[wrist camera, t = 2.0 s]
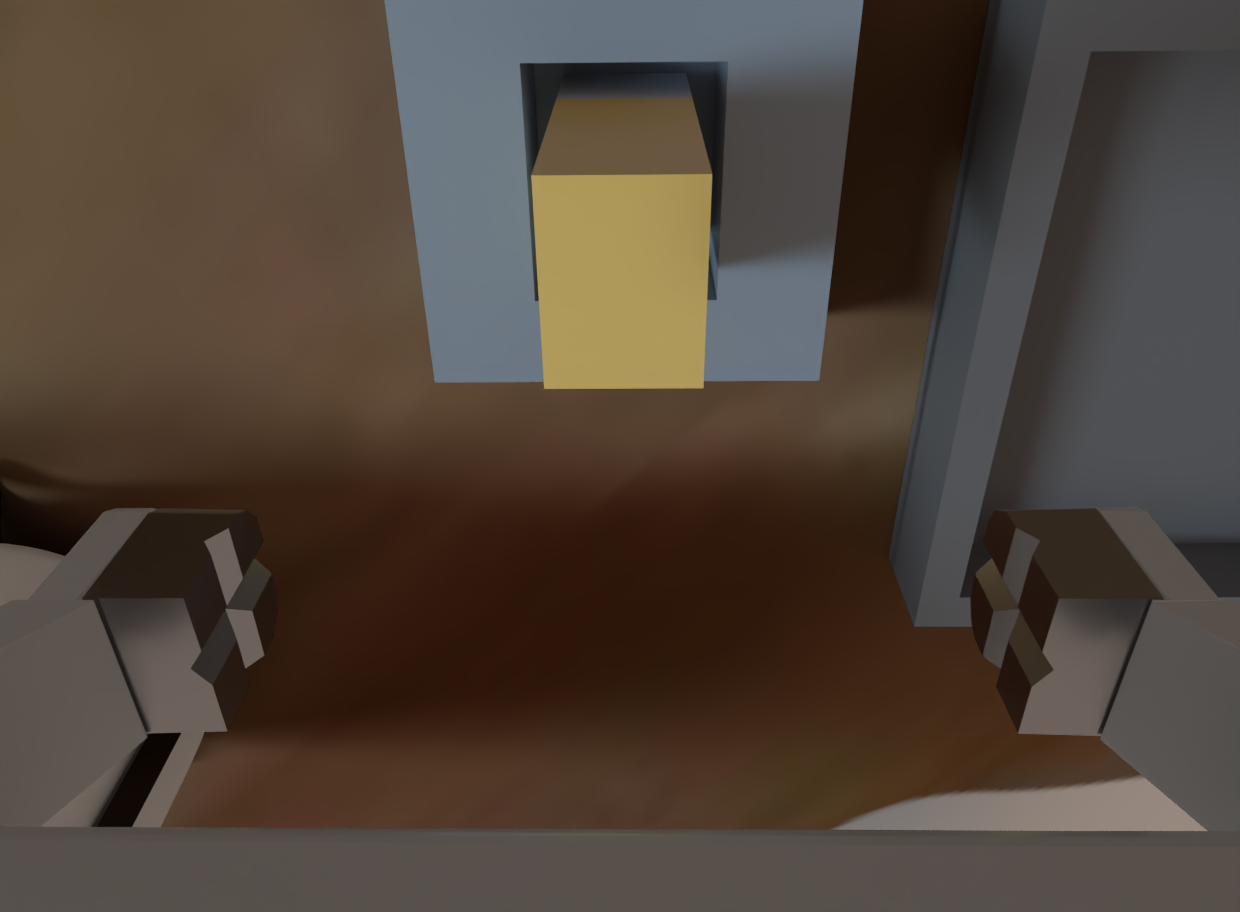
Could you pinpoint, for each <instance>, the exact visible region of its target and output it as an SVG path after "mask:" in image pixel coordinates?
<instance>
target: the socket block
mask: <svg viewBox="0 0 1240 912" xmlns="http://www.w3.org/2000/svg"><path fill="white" fill-rule="evenodd" d="M863 1H864V0H385V8H386V15H387V23H388V30H389V38H390V46H391V53H392V61H393V68H394V76H395V84H396V91H397V99H398V106H399V114H400V122H401V129H402V137H403V144H404V152H405V160H406V167H407V175H408V182H409V190H410V198H411V205H412V213H413V220H414V228H415V236H416V243H417V251H418V258H419V266H420V274H421V281H422V289H423V296H424V304H425V312H426V319H427V327H428V334H429V342H430V349H431V357H432V365H433V372H434V380H435V382H544V377H543V361H542V344H541V328H540V312H539V295H538V279H537V263H536V246H535V230H534V214H533V197H532V181H531V174H532V171H533V168H534V165H535V162H536V159H537V156H538V153H539V150H540V147H541V144H542V141H543V138H544V135H545V132H546V129H547V126H548V123H549V120H550V117H551V114H552V111H553V107H554V104H555V101H556V98H557V95H558V92H559V89H560V86H561V83H562V80H563V77H564V74H629V73H686V76H687V80H688V83H689V87H690V91H691V95H692V99H693V102H694V106H695V110H696V114H697V117H698V121H699V125H700V129H701V133H702V136H703V140H704V144H705V148H706V152H707V155H708V159H709V163H710V167H711V171H712V196H711V220H710V243H709V267H708V291H707V315H706V339H705V362H704V381H819V378H820V369H821V361H822V352H823V344H824V335H825V326H826V318H827V309H828V301H829V292H830V284H831V275H832V266H833V258H834V249H835V241H836V232H837V224H838V215H839V206H840V198H841V189H842V181H843V172H844V164H845V155H846V146H847V138H848V129H849V121H850V112H851V103H852V95H853V86H854V78H855V69H856V61H857V52H858V43H859V35H860V26H861V18H862V9H863Z"/></svg>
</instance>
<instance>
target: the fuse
mask: <svg viewBox="0 0 1240 912" xmlns="http://www.w3.org/2000/svg"><path fill="white" fill-rule="evenodd" d="M531 181H532V197H533V214H534V230H535V246H536V263H537V279H538V295H539V312H540V328H541V344H542V361H543V377H544V389H633V388H703V386H704V362H705V339H706V315H707V291H708V267H709V243H710V220H711V196H712V171H711V167H710V163H709V159H708V155H707V152H706V148H705V144H704V140H703V136H702V133H701V129H700V125H699V121H698V117H697V114H696V110H695V106H694V102H693V99H692V95H691V91H690V87H689V83H688V80H687V76H686V73H629V74H564V77H563V80H562V83H561V86H560V89H559V92H558V95H557V98H556V101H555V104H554V107H553V111H552V114H551V117H550V120H549V123H548V126H547V129H546V132H545V135H544V138H543V141H542V144H541V147H540V150H539V153H538V156H537V159H536V162H535V165H534V168H533V171H532V174H531Z"/></svg>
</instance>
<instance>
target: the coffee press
mask: <svg viewBox="0 0 1240 912" xmlns="http://www.w3.org/2000/svg"><path fill="white" fill-rule="evenodd" d="M0 518H1V491H0ZM64 557H65V556H63V555H60V554H57V553H53V552H50V551H46V550H42V549H37V548H32V547H27V546H21V545H13V544H4V543H3V541H2V537H1V528H0V606H2V605H4V604H6V603H8V602H10V601H12V600H28V599H29V598H30V597H31V595H32V594H33V593H34V592H35V591H36V590H37V589H38V587H39V586H40V585H41V584H42V583H43V582H44V580H45V579H46V578H47V577H48V576H49V575H50V573H51V572H52V571H53V570H54V569H55V568H56V566H57V565H58V564H59V563H60V562H61V561H62V560H63V558H64ZM146 734H147V738H146V739H145V740H144V741H143V742H141V743H140V744H139V745H138V746H137V747H135V748H134V749H133V750H132V751H131V752H129V753H128V754H127V755H126V756H125V757H124V758H122V759H121V760H120V761H119V762H118V763H116V764H115V765H114V766H113V767H112V768H110V769H109V770H108V771H107V772H106V773H104V774H103V775H102V776H101V777H100V778H98V779H97V780H96V781H95V782H94V783H92V784H91V785H90V786H89V787H88V788H86V789H85V790H84V791H83V792H82V793H80V794H79V795H78V796H77V797H76V798H74V799H73V800H72V801H71V802H70V803H68V804H67V805H66V806H65V807H64V808H62V809H61V810H60V811H59V812H58V813H56V814H55V815H54V816H53V817H52V818H50V819H49V820H48V821H47V822H46V823H44V824H43V825H42V826H41V827H161V825H162V823H163V821H164V819H165V817H166V815H167V813H168V811H169V809H170V806H171V804H172V802H173V800H174V798H175V796H176V794H177V792H178V790H179V788H180V786H181V784H182V782H183V780H184V777H185V775H186V773H187V771H188V769H189V767H190V765H191V763H192V761H193V758H194V756H195V754H196V752H197V750H198V747H199V745H200V743H201V740H202V737H203V735H204V732H185V733H146Z"/></svg>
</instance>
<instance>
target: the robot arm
mask: <svg viewBox="0 0 1240 912" xmlns="http://www.w3.org/2000/svg"><path fill="white" fill-rule="evenodd" d="M983 542H984V544H985V546H986V548H987V550H988V552H989V553H990V555H991V557H992V558H991V559H990V560H989V561H988V562H987V563H986V564H985V565H984V566H983V567H981V568H980V569H979V570H978V571H977V572H976V573H975V577H974V582H973V587H972V592H971V597H970V603H971V624H972V628H973V632H974V636H975V640H976V642H977V645H978V647H979V649H980V652H981V654H982V656H983V657H984V658H986V659H987V660H989V661H990V662H991V663H993V664H994V665H996V666H997V667H998V668H1000V669H1001V670H1000V674H999V677H998V681H997V685H996V687H997V689H998V691H999V694H1000V696H1001V698H1002V700H1003V702H1004V704H1005V706H1006V709H1007V711H1008V713H1009V715H1010V717H1011V719H1012V722H1013V724H1014V726H1015V728H1016V730H1017V732H1018V734H1052V735H1087V736H1101V738H1100V740H1101V741H1102V742H1104V743H1105V744H1106V745H1107V746H1108V747H1110V748H1111V749H1112V750H1113V751H1114V752H1115V753H1117V754H1118V755H1119V756H1120V757H1121V758H1122V759H1124V760H1125V761H1126V762H1127V763H1128V764H1130V765H1131V766H1132V767H1133V768H1134V769H1135V770H1137V771H1138V772H1139V773H1140V774H1141V775H1143V776H1144V777H1145V778H1146V779H1147V780H1148V781H1150V782H1151V783H1152V784H1153V785H1154V786H1156V787H1157V788H1158V789H1159V790H1160V791H1161V792H1163V793H1164V794H1165V795H1166V796H1167V797H1168V798H1170V799H1171V800H1172V801H1173V802H1174V803H1176V804H1177V805H1178V806H1179V807H1180V808H1181V809H1183V810H1184V811H1185V812H1186V813H1187V814H1188V815H1190V816H1191V817H1192V818H1193V819H1195V820H1196V821H1197V822H1198V823H1199V824H1200V825H1201V826H1203V827H1204V828H1205V829H1206V830H1207V831H942V830H940V831H939V830H936V831H935V830H931V831H930V830H775V829H479V828H218V827H41V826H42V825H43V824H44V823H46V822H47V821H48V820H49V819H50V818H52V817H53V816H54V815H55V814H56V813H58V812H59V811H60V810H61V809H62V808H64V807H65V806H66V805H67V804H68V803H70V802H71V801H72V800H73V799H74V798H76V797H77V796H78V795H79V794H80V793H82V792H83V791H84V790H85V789H86V788H88V787H89V786H90V785H91V784H92V783H94V782H95V781H96V780H97V779H98V778H100V777H101V776H102V775H103V774H104V773H106V772H107V771H108V770H109V769H110V768H112V767H113V766H114V765H115V764H116V763H118V762H119V761H120V760H121V759H122V758H124V757H125V756H126V755H127V754H128V753H129V752H131V751H132V750H133V749H134V748H135V747H137V746H138V745H139V744H140V743H141V742H143V741H144V740H145V739H146V738H147V734H146V733H185V732H226V731H228V729H229V727H230V725H231V723H232V721H233V719H234V717H235V715H236V713H237V711H238V709H239V707H240V705H241V703H242V701H243V699H244V697H245V694H246V692H247V690H248V688H249V686H250V683H249V679H248V676H247V673H246V668H247V667H248V666H250V665H251V664H253V663H254V662H256V661H257V660H258V659H260V658H261V657H263V656H264V655H265V653H266V651H267V648H268V646H269V644H270V642H271V640H272V637H273V633H274V628H275V622H276V616H277V598H276V589H275V585H274V581H273V577H272V573H271V572H270V571H269V570H267V569H266V568H265V567H264V566H263V565H262V564H261V563H260V562H258V561H257V560H256V559H255V558H254V557H255V556H256V554H257V552H258V550H259V548H260V547H261V545H262V543H263V539H262V535H261V532H260V529H259V525H258V522H257V519H256V517H255V516H254V515H253V514H251V513H250V512H249V511H247V510H227V509H175V508H160V509H155V508H115V509H112V510H108V511H105V512H103V513H102V514H101V515H100V517H99V518H98V519H97V520H96V521H95V522H94V524H93V525H92V526H91V527H90V528H89V529H88V530H87V532H86V533H85V534H84V535H83V536H82V537H81V539H80V540H79V541H78V542H77V543H76V544H75V546H74V547H73V548H72V549H71V550H70V551H69V553H68V554H67V555H66V556H65V557H64V558H63V560H62V561H61V562H60V563H59V564H58V565H57V566H56V568H55V569H54V570H53V571H52V572H51V573H50V575H49V576H48V577H47V578H46V579H45V580H44V582H43V583H42V584H41V585H40V586H39V587H38V589H37V590H36V591H35V592H34V593H33V594H32V595H31V597H30V598H29V599H28V600H12V601H10V602H8V603H6V604H4V605H2V606H0V912H1240V602H1238V601H1236V600H1220V599H1219V598H1218V597H1217V595H1216V594H1215V593H1214V592H1213V591H1212V589H1211V588H1210V587H1209V586H1208V585H1207V583H1206V582H1205V581H1204V580H1203V579H1202V577H1201V576H1200V575H1199V574H1198V573H1197V571H1196V570H1195V569H1194V568H1193V567H1192V565H1191V564H1190V563H1189V562H1188V561H1187V559H1186V558H1185V557H1184V556H1183V555H1182V553H1181V552H1180V551H1179V550H1178V549H1177V547H1176V546H1175V545H1174V544H1173V543H1172V541H1171V540H1170V539H1169V538H1168V537H1167V535H1166V534H1165V533H1164V532H1163V531H1162V529H1161V528H1160V527H1159V526H1158V525H1157V523H1156V522H1155V521H1154V520H1153V519H1152V517H1151V516H1150V515H1149V514H1148V513H1147V512H1146V511H1145V510H1143V509H1140V508H1138V507H1136V506H1122V507H1091V508H1087V509H1029V510H994V512H993V514H992V516H991V517H990V519H989V521H988V523H987V527H986V531H985V535H984V539H983Z"/></svg>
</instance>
